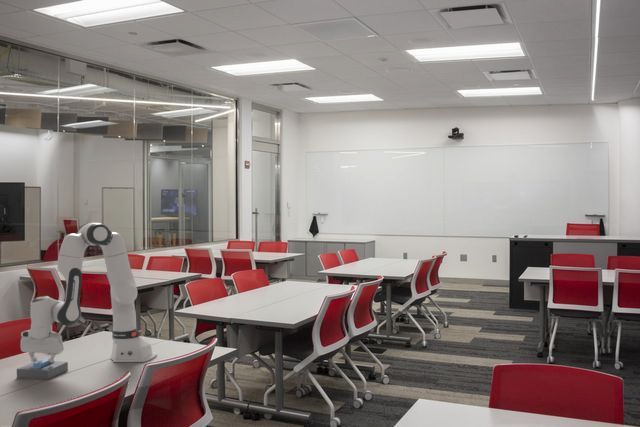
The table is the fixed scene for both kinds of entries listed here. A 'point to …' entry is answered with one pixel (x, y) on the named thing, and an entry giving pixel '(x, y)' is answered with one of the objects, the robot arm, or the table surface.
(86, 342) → the table surface
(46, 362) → the servo
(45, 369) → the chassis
